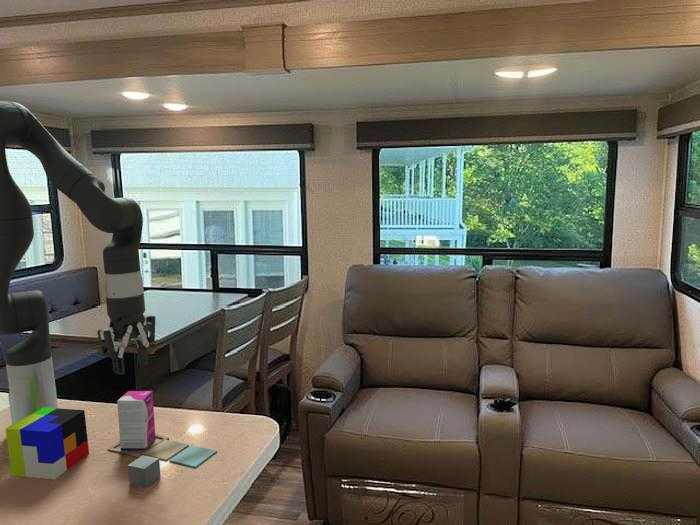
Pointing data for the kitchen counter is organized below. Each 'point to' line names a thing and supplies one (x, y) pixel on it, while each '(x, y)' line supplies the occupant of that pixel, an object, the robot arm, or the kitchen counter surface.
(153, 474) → the cube
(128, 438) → the supplement box
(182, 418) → the kitchen counter surface
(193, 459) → the track
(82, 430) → the puzzle toy
